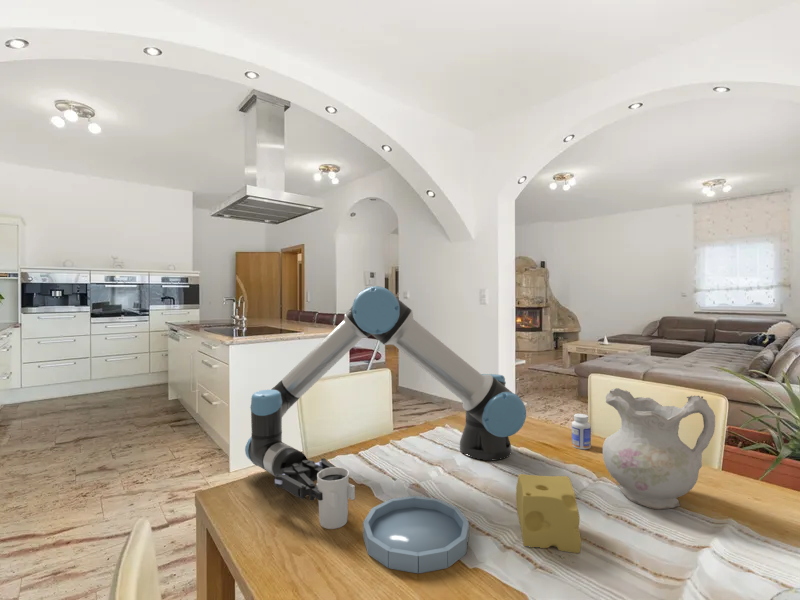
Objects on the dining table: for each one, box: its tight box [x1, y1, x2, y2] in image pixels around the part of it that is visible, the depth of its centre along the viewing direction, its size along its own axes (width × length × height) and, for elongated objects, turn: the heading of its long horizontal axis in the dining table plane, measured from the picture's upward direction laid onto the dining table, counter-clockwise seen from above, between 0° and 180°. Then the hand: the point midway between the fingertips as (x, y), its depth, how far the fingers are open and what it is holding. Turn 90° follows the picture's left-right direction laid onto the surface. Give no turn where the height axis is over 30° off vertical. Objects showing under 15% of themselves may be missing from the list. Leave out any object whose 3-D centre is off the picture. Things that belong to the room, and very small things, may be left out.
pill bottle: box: [571, 413, 592, 450], centre depth 126 cm, size 5×5×10 cm
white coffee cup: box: [316, 466, 350, 530], centre depth 86 cm, size 7×7×10 cm
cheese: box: [515, 473, 582, 554], centre depth 80 cm, size 10×11×10 cm
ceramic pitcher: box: [602, 387, 716, 510], centre depth 95 cm, size 22×20×25 cm
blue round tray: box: [362, 495, 470, 574], centre depth 80 cm, size 20×20×3 cm
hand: (344, 496), depth 83 cm, fingers closed on white coffee cup, 4 cm apart
